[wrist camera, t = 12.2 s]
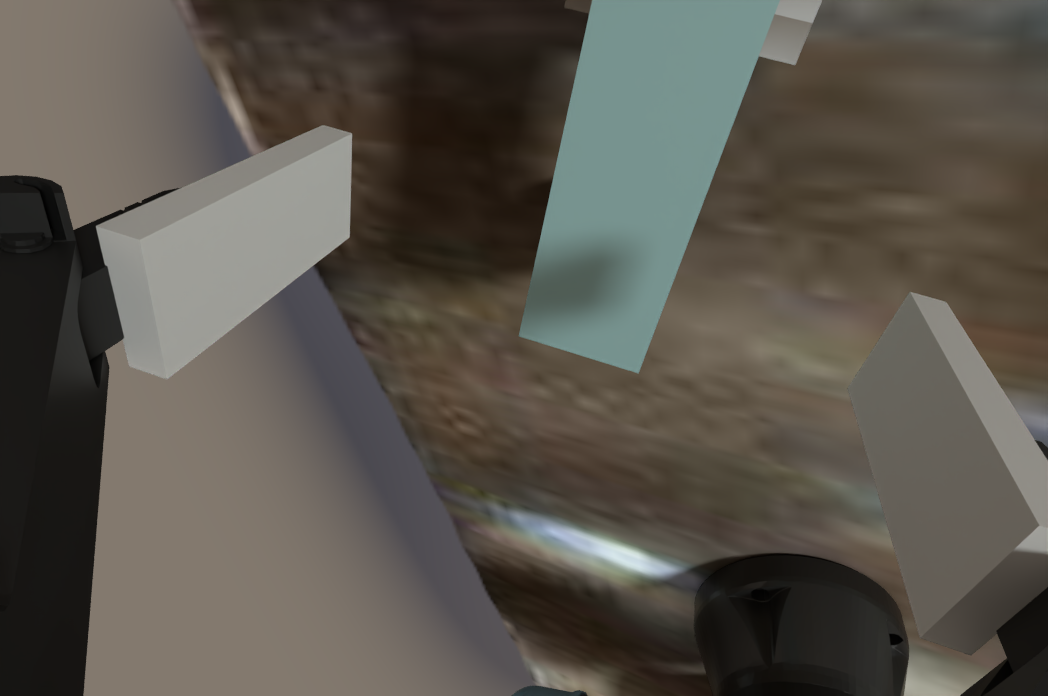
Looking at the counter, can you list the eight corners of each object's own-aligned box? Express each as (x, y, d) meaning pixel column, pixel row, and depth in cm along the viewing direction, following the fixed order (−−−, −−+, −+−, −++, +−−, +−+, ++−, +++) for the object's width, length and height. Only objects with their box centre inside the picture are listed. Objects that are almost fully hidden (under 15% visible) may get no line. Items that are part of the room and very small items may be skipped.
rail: (663, 241, 35) (638, 373, 24) (578, 217, 35) (518, 336, 25) (784, -104, 25) (829, -131, 15) (666, -130, 26) (630, -173, 15)
